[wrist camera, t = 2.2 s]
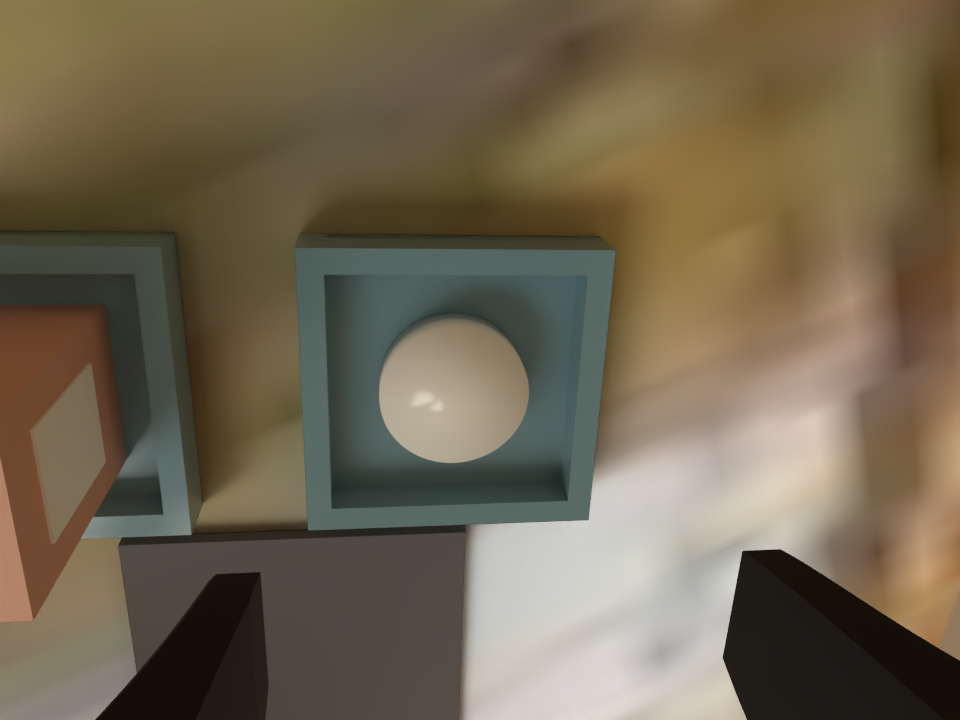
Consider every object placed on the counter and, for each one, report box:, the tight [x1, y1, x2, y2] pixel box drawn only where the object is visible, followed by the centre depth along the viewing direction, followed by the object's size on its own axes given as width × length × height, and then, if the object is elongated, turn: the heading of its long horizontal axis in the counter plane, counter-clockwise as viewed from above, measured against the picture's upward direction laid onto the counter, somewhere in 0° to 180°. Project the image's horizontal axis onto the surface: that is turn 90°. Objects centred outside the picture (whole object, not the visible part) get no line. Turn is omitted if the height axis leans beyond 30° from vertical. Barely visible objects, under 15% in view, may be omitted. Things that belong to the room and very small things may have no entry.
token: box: [379, 312, 529, 463], centre depth 20 cm, size 4×4×1 cm
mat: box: [118, 525, 465, 720], centre depth 23 cm, size 9×9×1 cm
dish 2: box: [295, 234, 616, 530], centre depth 20 cm, size 7×7×1 cm
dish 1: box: [0, 231, 203, 539], centre depth 19 cm, size 7×7×1 cm
